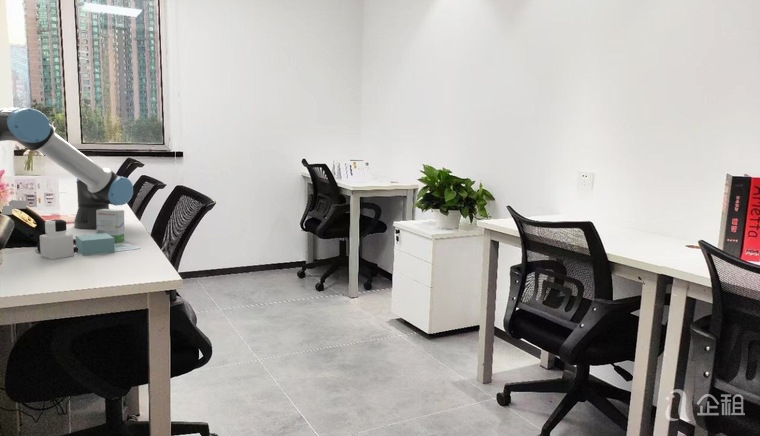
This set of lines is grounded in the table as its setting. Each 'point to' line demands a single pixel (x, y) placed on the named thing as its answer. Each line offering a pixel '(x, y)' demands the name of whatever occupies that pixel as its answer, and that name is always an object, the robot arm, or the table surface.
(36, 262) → the table surface
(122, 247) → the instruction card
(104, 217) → the ink box
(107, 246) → the base brick
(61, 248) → the grey stepped block
